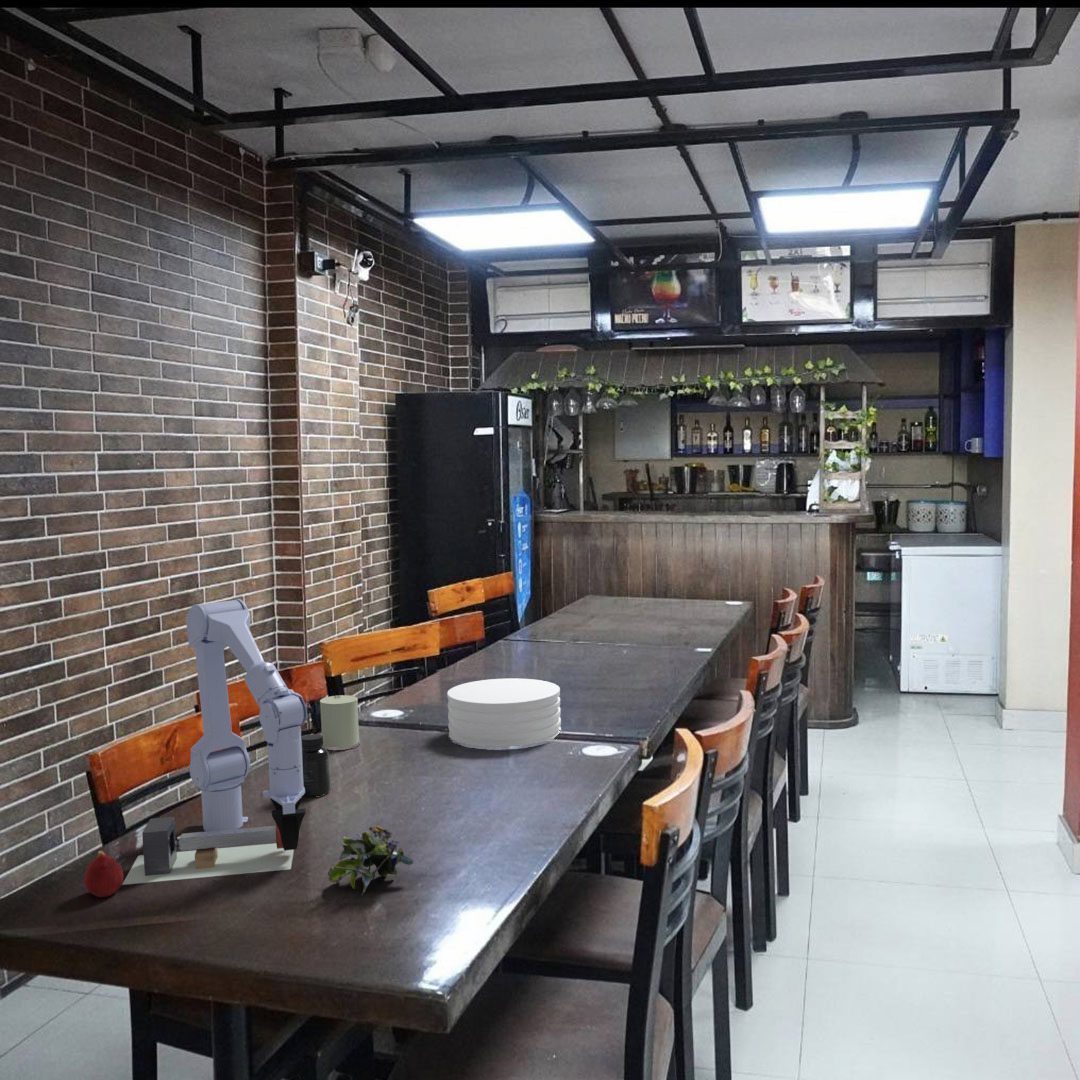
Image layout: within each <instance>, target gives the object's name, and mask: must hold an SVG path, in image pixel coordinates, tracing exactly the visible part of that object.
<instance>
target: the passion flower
mask: <svg viewBox="0 0 1080 1080" xmlns="http://www.w3.org/2000/svg"><path fill="white" fill-rule="evenodd" d="M369 831H370V832H369ZM369 831H363V832H362V834H355V836H353V838H348V837H346V836H343V837H342V842H343V843H342V847H343V851H342V852H341V853H340V855H339V862H337V864H336V863H332V865H331V867H330V869H329V871H327V875H328V880H329V882H332V883H336V884H339V883H340V881H341V880H342V879H343V878H344V877H346V876H348V875H350V877H349V878H350V879H349V880H350V881H349V882H350V886H351V887H352V889H353V890H355V889H356V878H357V877H358V875H361V877H362V879H361V880H362V881H361V882H362V883H363V890H362V893H361V894H360V896H361V897H363V895H364V893H365V892H366V889H367V888H368V886H369V884H370V883H371V881H372V880H373V879H375V876H376V873H378V875H379V876H380V877H382V878H386V877H387V876H388V875H395V876H396V875H397V874H398V870H397V864H399V863H402V864H405V865H408V866H411V865H412V864H413V863H414V860H413V859H412V858H409V857H407V856H405V854H404V853H405V852H404V850H403V849H404V848H402V847H398V845H397V844H398V843H399V841H397V840H395V839H394V840H393V839H392V840H389V839H390V838H393V835H392V832H391V831H390V830H389V829H388V828H385V829H384V828H383V827H381V826H376V827H373V826H370V827H369ZM355 855H356V856H357V858H356V857H352V856H355ZM349 856H351V858H347V857H349ZM345 858H346V859H345ZM372 866H375V868H376V869H375V870H373V872H371V867H372Z"/></svg>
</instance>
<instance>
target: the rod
mask: <svg viewBox="0 0 1080 1080" xmlns="http://www.w3.org/2000/svg"><path fill="white" fill-rule="evenodd" d="M300 837H301V830H300V831H299V839H300ZM274 843H276V844H277V849H280V848H283V845H282V841H281V836H280V832H279V829H278V826H277V824H276V823H275V825H268V826H265V825H264V826H257V827H245V828H244V827H243V828H242V827H241V828H238V829H230V830H219V831H207V832H206V831H196V832H187V833H186V832H185V833H184V832H183V833H181V835H178V836H176V839H175V842H174V844H175V846H176V849H180V852H184V851H195V850H197V849H206V848H217V849H218V848H229V847H240V846H251V845H263V844H274Z"/></svg>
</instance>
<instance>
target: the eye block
mask: <svg viewBox="0 0 1080 1080" xmlns="http://www.w3.org/2000/svg"><path fill="white" fill-rule="evenodd" d="M175 818H176V817H175V816H167V817H156V818H150V819H149V820H148V822H147V824H146V826H145V827H144V829H143V831H142V850H143V855H144V869H145V876H149V875H159V874H170V872H171V870H172V868H173V866H174V863H175V861H176V859H177V852H178V851H177V847H176V846H175V844H174V842H175V839H176V838H177V836H176V821H175Z"/></svg>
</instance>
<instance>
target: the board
mask: <svg viewBox="0 0 1080 1080" xmlns="http://www.w3.org/2000/svg"><path fill="white" fill-rule="evenodd" d="M196 850H197V849H194V850H183V851H177V859H176V861H175V863H174V866H173V868H172V870H171V872H170V874H159V875H149V876H145V869H144V854H141V855H137V857H136V859H135V861H134V862H133V864H132V866H131V868H130V870H129V872H128V873H127V875H126V877H125V879H123V882H122V884H121V886H125V885H135V884H149V883H156V882H157V883H159V882H167V881H177V880H179V881H180V880H190V879H201V878H211V877H221V876H222V877H223V876H233V875H243V874H254V873H265V872H274V871H287V870H291V869H292V865H293V864H292V863H293V858H294V852H295V851H294V850H295V849H294V850H286V851H285V850H284V848H280V849H277V844H276V842H274V843H262V844H251V845H240V846H228V847H217V853H218V857H217V860H216V863H215V866H214V867H212V868H201V869H195V853H196Z"/></svg>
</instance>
